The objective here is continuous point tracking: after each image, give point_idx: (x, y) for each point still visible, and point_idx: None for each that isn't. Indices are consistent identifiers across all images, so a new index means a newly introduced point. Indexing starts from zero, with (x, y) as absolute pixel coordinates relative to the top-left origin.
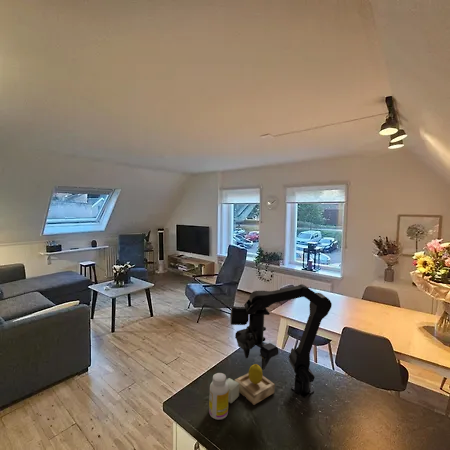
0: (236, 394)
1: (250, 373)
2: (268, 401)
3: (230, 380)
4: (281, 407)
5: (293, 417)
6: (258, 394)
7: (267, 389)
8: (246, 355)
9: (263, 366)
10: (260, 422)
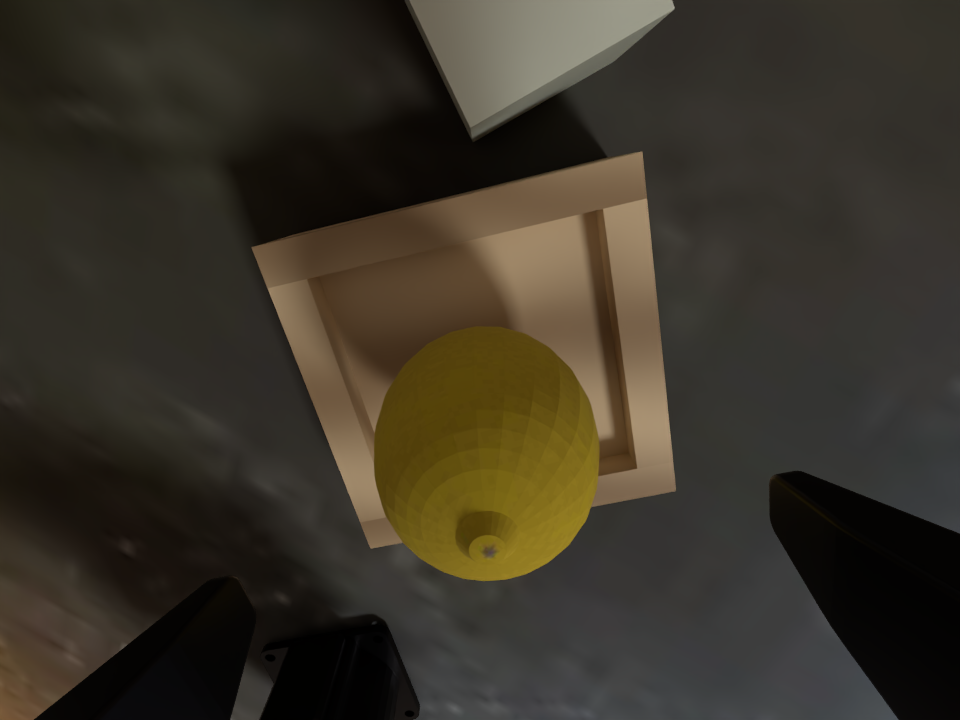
0: (444, 80)
1: (466, 359)
2: (305, 389)
3: (601, 3)
4: (211, 449)
5: (91, 471)
6: (286, 315)
7: (337, 447)
8: (823, 532)
9: (101, 673)
10: (65, 174)
